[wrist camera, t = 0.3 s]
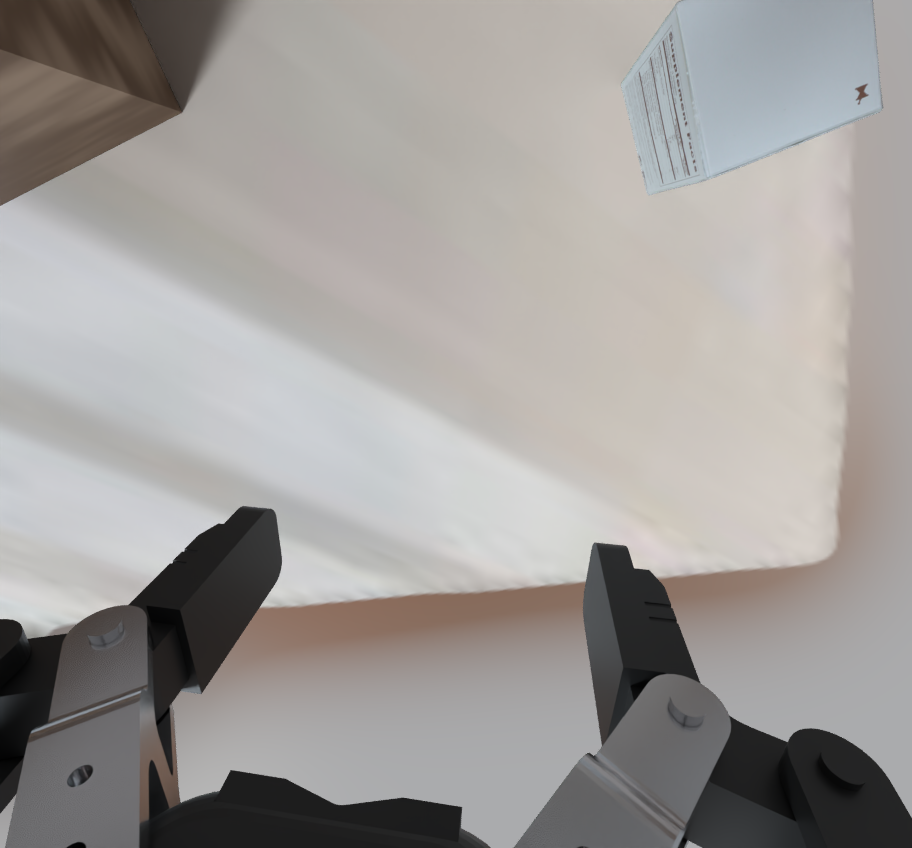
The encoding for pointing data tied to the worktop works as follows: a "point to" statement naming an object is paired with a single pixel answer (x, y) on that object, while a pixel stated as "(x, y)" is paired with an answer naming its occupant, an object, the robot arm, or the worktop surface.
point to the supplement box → (747, 83)
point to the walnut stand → (72, 86)
